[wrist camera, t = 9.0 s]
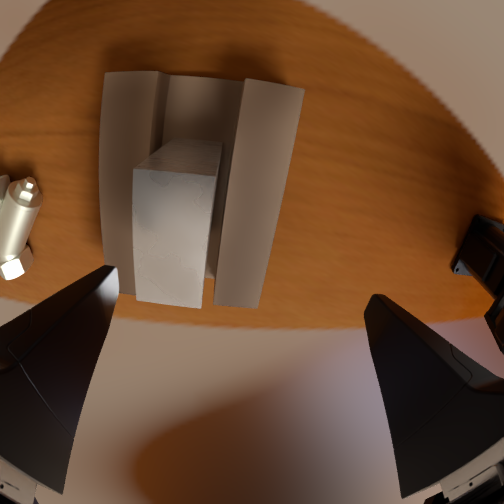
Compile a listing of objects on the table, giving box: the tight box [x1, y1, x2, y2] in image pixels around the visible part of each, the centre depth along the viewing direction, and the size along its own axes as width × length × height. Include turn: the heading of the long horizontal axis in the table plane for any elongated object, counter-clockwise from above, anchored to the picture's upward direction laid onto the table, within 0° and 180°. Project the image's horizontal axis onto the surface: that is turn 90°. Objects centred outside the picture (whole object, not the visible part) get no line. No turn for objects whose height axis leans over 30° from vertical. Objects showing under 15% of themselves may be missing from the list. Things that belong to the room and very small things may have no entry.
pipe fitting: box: [0, 175, 43, 280], centre depth 17 cm, size 8×4×7 cm
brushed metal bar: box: [132, 138, 223, 309], centre depth 14 cm, size 3×6×8 cm, turn 170°
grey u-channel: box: [99, 71, 305, 309], centre depth 17 cm, size 10×14×4 cm
